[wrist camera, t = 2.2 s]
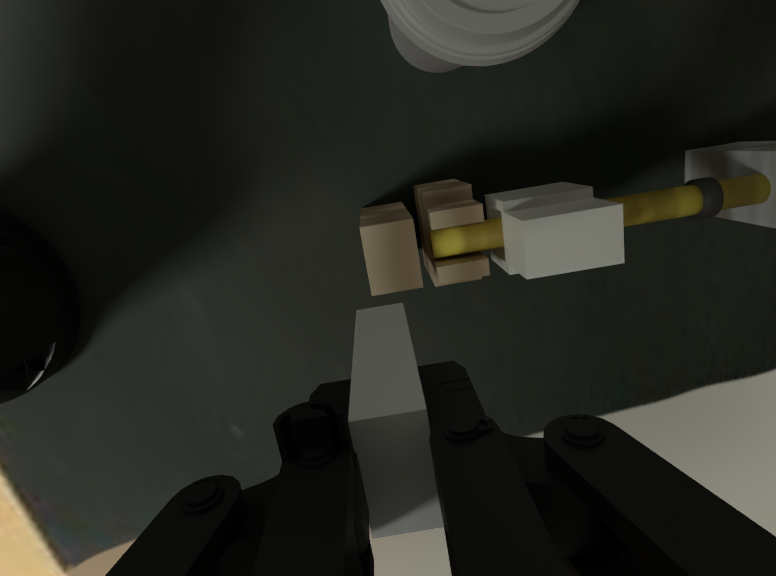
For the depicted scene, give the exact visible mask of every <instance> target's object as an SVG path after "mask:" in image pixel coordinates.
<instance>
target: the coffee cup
mask: <svg viewBox="0 0 776 576" xmlns="http://www.w3.org/2000/svg"><path fill="white" fill-rule="evenodd" d="M579 1H580V0H381V2H382V4H383V6H384V8H385V9H386V11H387V13H388V19H389V26H390V31H391V35H392V39H393V41H394V44H395V46H396V48H397V49H398V51H399V53H400V54H401V55H402V56H403V58H404V59H405V60H406V61H407V62H409V63H410V64H411V65H413V66H414V67H416V68H418V69H420V70H423V71H426V72H432V73H442V72H448V71H451V70H454V69H457V68H459V67H462V66H465V65H467V66H489V65H496V64H501V63H505V62H508V61H511V60H514V59H517V58H519V57H521V56H523V55H525V54H527V53H529V52H531V51H533V50H534V49H536V48H537V47H539V46H540V45H542V44H543V43H544V42H546V41H547V40H548V39H549V38H550V37H551V36H553V35H554V34H555V33H556V32H557V31H558V30H559V29H560V28H561V26H562V25H563V24H564V23H565V22H566V20H567V19H568V18H569V17H570V15H571V14H572V12H573V11H574V9H575V8H576V6H577V5H578V3H579Z"/></svg>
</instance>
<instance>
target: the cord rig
mask: <svg viewBox="0 0 776 576" xmlns="http://www.w3.org/2000/svg"><path fill="white" fill-rule="evenodd" d="M413 189H414V196H415V202H416V209H417V216H418V223H419V230H420V237H421V244H422V251H423V258H424V265H425V267H426V269H427V271H428V273H429V275H430V277H431V279H432V281H433V283H434V285H435V287H436V286H442V285H448V284H454V283H460V282H466V281H472V280H477V279H482V276H488V275H490V271H489V262H488V258H487V257H486V256H485V255H483V254H482V253H481V252H480V251H482V250H488V249H494V248H500V247H504V238H503V227H502V217H498V218H492V219H486V220H484V214H483V205H482V203H480V202H478V201H475V200H473V196H472V187H471V184H468V183H465V182H462V181H459V180H456V179H449V180H443V181H437V182H431V183H426V184H420V185H414V186H413ZM605 200H607V201H612V202H616V203H621V204H623V227H625V226H631V225H636V224H642V223H648V222H654V221H660V220H666V219H672V218H678V217H684V216H688V217H689V218H690V219H694V220H696V219H702V218H708V217H713V216H715V217H720V218H725V219H730V220H735V221H741V222H746V223H751V224H756V225H761V226H767V227H772V228H776V141H749V142H735V143H729V144H723V145H717V146H711V147H705V148H699V149H693V150H687V151H685V184H684V186H682V187H676V188H670V189H664V190H658V191H652V192H646V193H640V194H634V195H628V196H622V197H616V198H611V199H605ZM360 233H361V238H362V244H363V250H364V255H365V261H366V266H367V272H368V277H369V283H370V288H371V294H372V296H374V295H380V294H386V293H392V292H398V291H404V290H410V289H416V288H422V287H423V282H422V275H421V268H420V262H419V255H418V248H417V241H416V235H415V228H414V221H413V218H412V216H411V215H410V213H409V212H408V210H407V209H406V207H405V206H404V204H403V203H402V202H397V203H391V204H385V205H379V206H373V207H367V208H361V216H360Z"/></svg>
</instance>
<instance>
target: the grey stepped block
mask: <svg viewBox="0 0 776 576" xmlns="http://www.w3.org/2000/svg"><path fill="white" fill-rule="evenodd" d="M485 202H486V212H487V219H492V218H498V217H502V227H503V238H504V247H500V248H494V249H490V250H491V259H492V260H493V261H494V262H496V263H497V264H498V265H499V266H500V267H501V268H502V269H504V270H505V271H506V272H507V273H508V274H509V275H512V274H518V273H519V274H521V275H522V276H523V277H524V278H526V279H532V278H538V277H544V276H550V275H556V274H562V273H568V272H574V271H580V270H586V269H591V268H597V267H603V266H609V265H615V264H621V263H624V228H623V204H621V203H616V202H612V201H607V200H602V199H597V198H593V187H592V186H585V185H579V184H573V183H567V182H558V183H552V184H547V185H541V186H535V187H529V188H523V189H517V190H511V191H505V192H499V193H493V194H487V195H485Z"/></svg>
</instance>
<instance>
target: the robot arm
mask: <svg viewBox="0 0 776 576" xmlns="http://www.w3.org/2000/svg"><path fill="white" fill-rule="evenodd" d="M78 329H79V305H78V299H77V295H76V291H75V288H74V285H73V282H72V280H71V277H70V275H69V273H68V271H67V269H66V268H65V266H64V264H63V263H62V261H61V260H60V258H59V257H58V255H57V254H56V253H55V251H54V250H53V249H52V248H51V247H50V246H49V244H48V243H47V242H46V241H45V240H44V239H43V238H42V237H41V236H39V235H38V234H37V233H36V232H35V231H34V230H32V229H31V228H30V227H28V226H27V225H26V224H24V223H23V222H21V221H20V220H18V219H16V218H15V217H13V216H11V215H9V214H7V213H5V212H3V211H1V210H0V404H1V403H4V402H7V401H10V400H13V399H15V398H17V397H19V396H21V395H23V394H25V393H27V392H29V391H30V390H32V389H33V388H35V387H36V386H37V385H39V384H40V383H42V382H43V381H44V380H46V379H47V378H49V377H50V376H51V375H53V374H54V373H55V372H56V371H57V370H58V369H59V368H60V367H61V366H62V365H63V364H64V362H65V361H66V359H67V358H68V356H69V355H70V353H71V351H72V349H73V347H74V344H75V342H76V338H77V334H78ZM273 428H274V432H275V435H276V439H277V443H278V447H279V451H280V455H281V458H282V465H281V469H280V472H279V474H278V475H276V476H275V477H273V478H271V479H269V480H267V481H265V482H263V483H260V484H257V485H255V486H252V487H250V488H247V489H244V490H241V486H240V483H239V481H238V480H236V479H235V478H234V477H232V476H226V475H217V476H210V477H206V478H203V479H200V480H197V481H195V482H193V483H192V484H190V485H189V486H187V487H185V488H183V489H182V490H181V491H179V492H178V493H177V494H176V495H175V496H174V497H173V498H172V499H171V500H170V501H169V502H168V503H167V504H166V506H165V507H164V508H163V509H162V510H161V511H160V513H159V514H158V515H157V516H156V517H155V518H154V519H153V521H152V522H151V523H150V524H149V525H148V526H147V528H146V529H145V530H144V531H143V532H142V533H141V535H140V536H139V537H138V538H137V539H136V540H135V542H134V543H133V544H132V545H131V546H130V547H129V549H128V550H127V551H126V552H125V553H124V554H123V556H122V557H121V558H120V559H119V560H118V561H117V563H116V564H115V565H114V566H113V567H112V568H111V570H110V571H109V572H108V573H107V574H106V576H374V559H373V554H372V549H371V544H370V540H369V524H370V529H371V533H372V538H379V537H384V536H391V535H397V534H403V533H409V532H415V531H422V530H427V529H434V528H440V527H444V529H445V535H446V542H447V548H448V555H449V561H450V567H451V574H452V576H776V537H775V536H774V535H772V534H771V533H769V532H768V531H767V530H765V529H764V528H762V527H761V526H759V525H758V524H757V523H755V522H754V521H752V520H751V519H749V518H748V517H746V516H745V515H744V514H742V513H741V512H739V511H738V510H736V509H735V508H734V507H732V506H731V505H729V504H728V503H726V502H725V501H724V500H722V499H721V498H719V497H718V496H716V495H715V494H713V493H712V492H710V491H709V490H708V489H706V488H705V487H703V486H702V485H701V484H699V483H698V482H696V481H695V480H693V479H692V478H690V477H689V476H688V475H686V474H685V473H683V472H682V471H680V470H679V469H677V468H676V467H675V466H673V465H672V464H670V463H669V462H667V461H666V460H665V459H663V458H662V457H660V456H659V455H657V454H656V453H655V452H653V451H652V450H650V449H649V448H647V447H646V446H645V445H643V444H642V443H640V442H639V441H637V440H636V439H634V438H633V437H631V436H630V435H629V434H627V433H626V432H624V431H623V430H622V429H620V428H619V427H617V426H616V425H614V424H612V423H610V422H608V421H606V420H604V419H602V418H599V417H594V416H590V415H582V414H580V415H578V414H576V415H568V416H563V417H559V418H557V419H555V420H553V421H551V422H549V423H548V425H547V426H546V427H545V429H544V438H532V437H520V436H514V435H510V434H506V433H504V432H502V431H501V430H500V428H499V426H498V425H497V424H496V422H495V421H494V420H493V419H491V418H489V417H487V416H486V415H485V412H484V410H483V408H482V406H481V403H480V401H479V399H478V397H477V394H476V392H475V390H474V388H473V385H472V383H471V381H470V379H469V376H468V374H467V372H466V369H465V368H464V367H462V366H461V365H459V364H458V363H456V362H455V361H448V362H442V363H436V364H430V365H424V366H418V367H417V364H416V360H415V355H414V351H413V346H412V342H411V337H410V333H409V328H408V324H407V319H406V315H405V311H404V306H403V303H398V304H392V305H386V306H380V307H374V308H368V309H362V310H356V323H355V336H354V349H353V362H352V376H351V379H349V380H343V381H337V382H331V383H325V384H320V385H319V386H318V388H317V389H316V390H315V391H314V392H313V393H312V394H311V395H310V399H309V402H305V403H301V404H298V405H296V406H294V407H291V408H289V409H287V410H286V411H284V412H283V413H282V414H280V415H279V416H278V417H277V418H276V420H275V421H274V423H273Z"/></svg>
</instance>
